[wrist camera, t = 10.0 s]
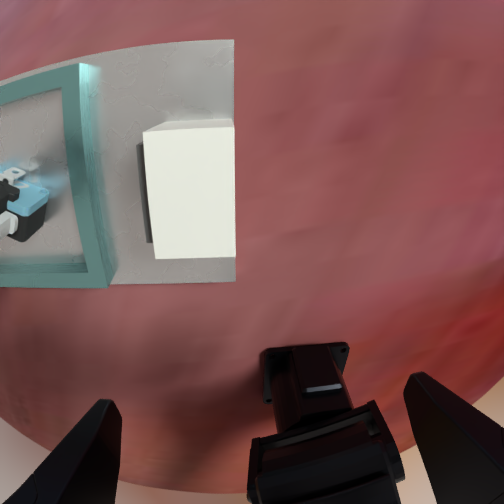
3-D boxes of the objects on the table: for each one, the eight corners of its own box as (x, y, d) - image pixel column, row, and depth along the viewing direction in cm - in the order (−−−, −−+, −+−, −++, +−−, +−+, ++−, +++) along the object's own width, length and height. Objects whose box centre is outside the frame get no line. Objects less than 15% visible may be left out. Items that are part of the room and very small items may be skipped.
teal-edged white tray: (234, 268, 20) (236, 293, 18) (-60, 272, 18) (-76, 288, 16) (233, 44, 14) (234, 35, 12) (-92, 129, 12) (-113, 137, 10)
